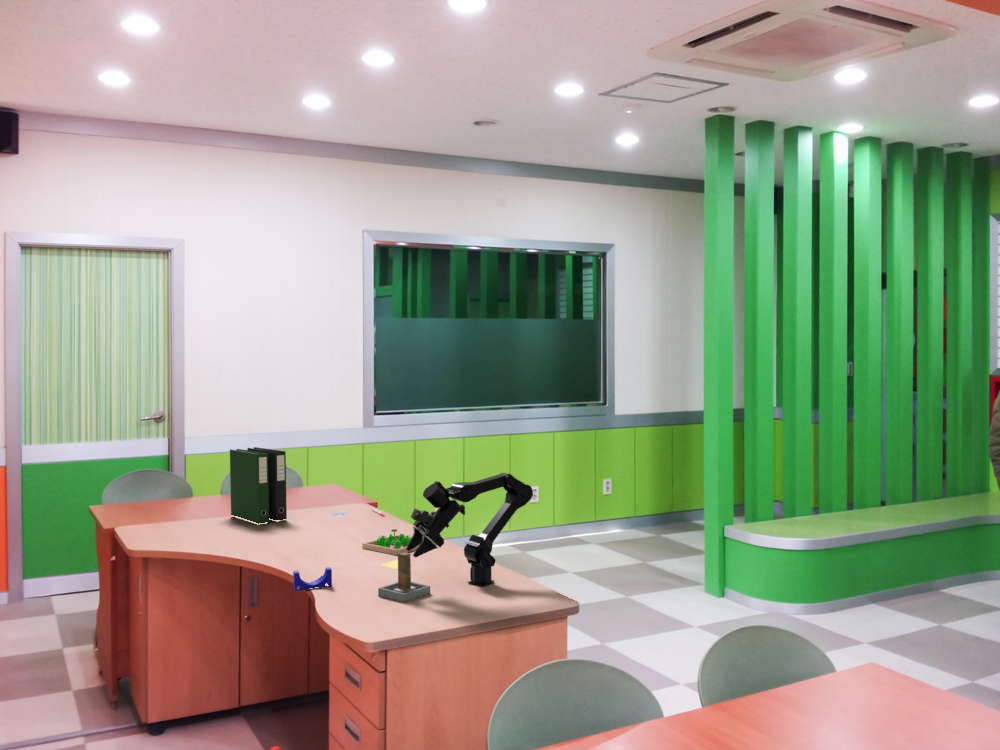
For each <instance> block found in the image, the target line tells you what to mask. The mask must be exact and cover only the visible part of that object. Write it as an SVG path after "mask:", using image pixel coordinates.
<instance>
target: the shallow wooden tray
mask: <svg viewBox="0 0 1000 750" xmlns="http://www.w3.org/2000/svg"><path fill="white" fill-rule="evenodd" d="M399 535H400V534H395V541H396V540H397V539H398V537H399ZM392 536H393V537H394V535H392ZM405 536H406V535H404V537H405ZM385 537H386V538H387V539H388V538H389V536H385ZM385 537H384V538H385ZM409 537H410V536H409ZM411 537H412V536H411ZM411 537H410V540H411ZM386 538H385V539H386ZM405 538H406V537H405ZM379 540H380V539H379ZM379 540H378V541H377V539H375V540H371V541H367V542H364V543H362V544H361V545H362V546H361V547H362V549H363V548H364V550H368V549H369V551H374V552H379V553H384V554H388V555H392V556H398V554H400V553H404V552H405V553H410V552H415V551H416V549H417V548H418V547H419V545H418V546H416V547H415V548H413V549H411V550H410V551H408V550H407V549H406V548H407V547H403V546H402V547H401V548H399V549H395V548H392V547H390V548H388V547H383V546H378V542H379ZM404 540H405V539H404ZM376 541H377V543H376Z"/></svg>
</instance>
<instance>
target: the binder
mask: <svg viewBox="0 0 1000 750" xmlns="http://www.w3.org/2000/svg"><path fill="white" fill-rule="evenodd" d="M286 455H287V454H286V451H283V450H277V449H270V448H262V447H256V446H254V447H252V448H251V447H247V448H246V449H242V448H241V449H240V448H236V449H231V448H230V449H229V471H230V472H229V474H230V475H229V477H230V516H231V515H234V516H238V517H241V518H244V519H247V520H250V521H253V522H256V523H258V524H259V523H265V522H269V523H270V521H269V518H270V519H273V520H283V519H288V518H287V515H288V514H287V471H286V470H287V465H286V464H287V463H286V462H287V461H286V459H287V458H286Z"/></svg>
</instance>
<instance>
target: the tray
mask: <svg viewBox="0 0 1000 750" xmlns="http://www.w3.org/2000/svg"><path fill="white" fill-rule="evenodd" d="M411 586H412V587H416V590H413V591H410V592H407V593H400V592H396V591H393V589H396V588H398V581H397V582H394V583H391V584H387V585H384V586H380V587H378V588H377V590H378V591H377V593H378V597H381V598H384V597H385V599H389V600H393V601H397V602H400V603H401V602H402V603H407V602H410V600H411V601H412V600H413V599H414V600H416V599H419V598H422V597H426V596H428V595H431V586H430V585H427V584H423V583H418V582H414V581H411ZM427 594H428V595H427ZM421 596H422V597H421Z"/></svg>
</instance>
